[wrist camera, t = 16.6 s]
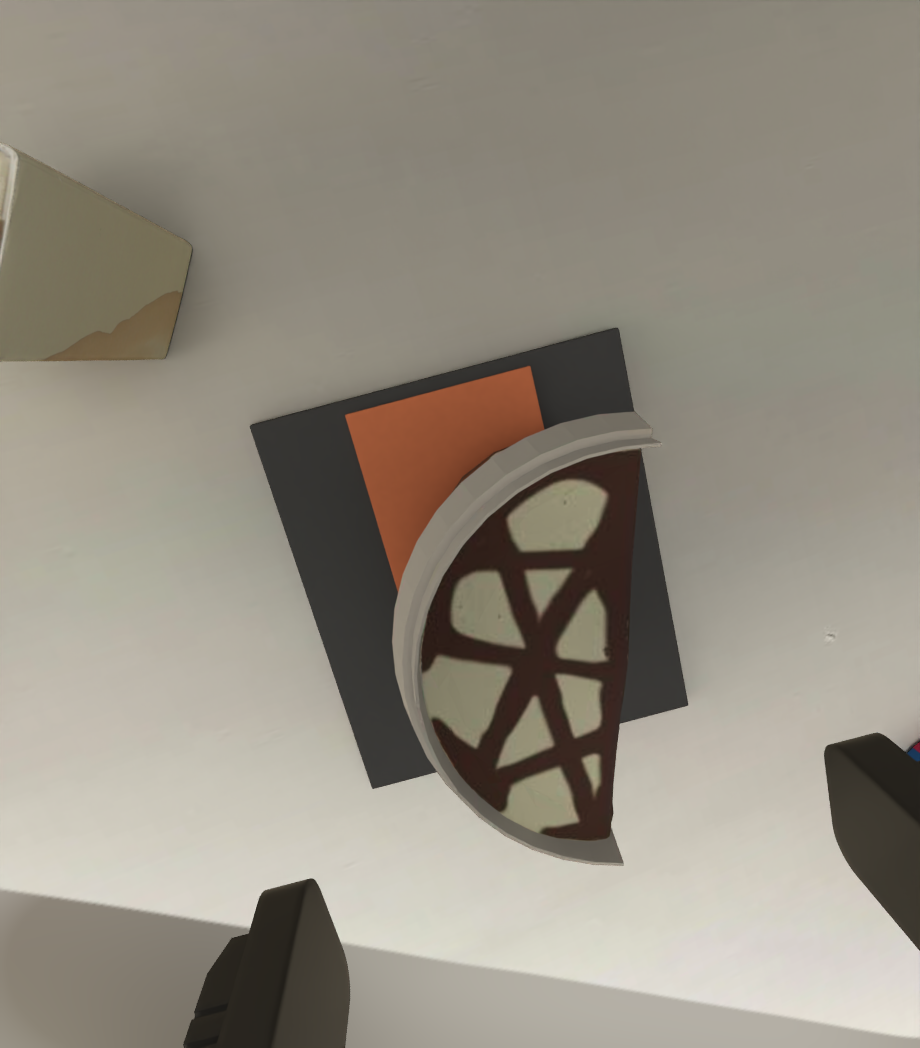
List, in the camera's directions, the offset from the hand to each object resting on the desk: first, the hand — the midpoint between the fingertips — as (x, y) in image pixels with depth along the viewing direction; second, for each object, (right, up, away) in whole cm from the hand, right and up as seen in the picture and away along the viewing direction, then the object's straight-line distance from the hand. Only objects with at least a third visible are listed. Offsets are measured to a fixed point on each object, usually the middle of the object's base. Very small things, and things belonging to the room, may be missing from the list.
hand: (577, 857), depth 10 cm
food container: (-1, +4, +16) cm, 16 cm away
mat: (-1, +3, +16) cm, 17 cm away
